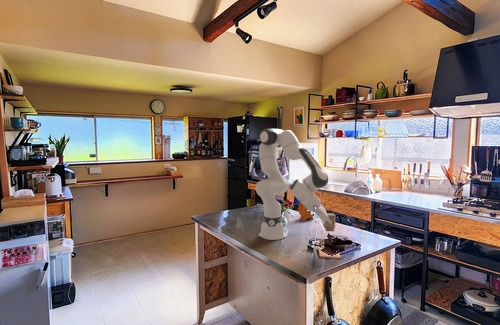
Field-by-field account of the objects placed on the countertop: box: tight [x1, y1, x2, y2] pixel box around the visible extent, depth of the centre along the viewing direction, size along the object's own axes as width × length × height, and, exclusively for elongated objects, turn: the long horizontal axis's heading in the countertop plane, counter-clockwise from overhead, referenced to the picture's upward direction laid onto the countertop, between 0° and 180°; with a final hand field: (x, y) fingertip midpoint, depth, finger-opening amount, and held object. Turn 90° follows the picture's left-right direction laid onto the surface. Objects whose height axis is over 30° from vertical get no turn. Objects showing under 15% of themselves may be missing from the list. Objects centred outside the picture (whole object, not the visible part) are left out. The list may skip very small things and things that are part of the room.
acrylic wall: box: [313, 245, 319, 268], centre depth 150 cm, size 18×1×4 cm, turn 170°
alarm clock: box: [297, 201, 314, 222], centre depth 226 cm, size 13×6×20 cm, turn 115°
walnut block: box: [324, 213, 335, 232], centre depth 156 cm, size 4×4×9 cm
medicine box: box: [322, 214, 336, 227], centre depth 208 cm, size 8×4×9 cm, turn 92°
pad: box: [318, 250, 342, 260], centre depth 158 cm, size 12×11×1 cm
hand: (330, 221), depth 156 cm, fingers closed on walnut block, 4 cm apart
